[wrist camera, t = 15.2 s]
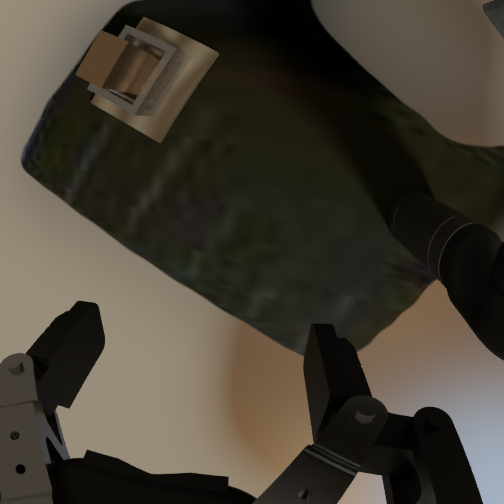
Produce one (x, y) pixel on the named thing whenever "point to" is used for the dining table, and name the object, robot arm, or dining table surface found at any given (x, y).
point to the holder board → (181, 90)
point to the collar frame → (140, 103)
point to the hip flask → (496, 14)
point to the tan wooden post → (117, 64)
